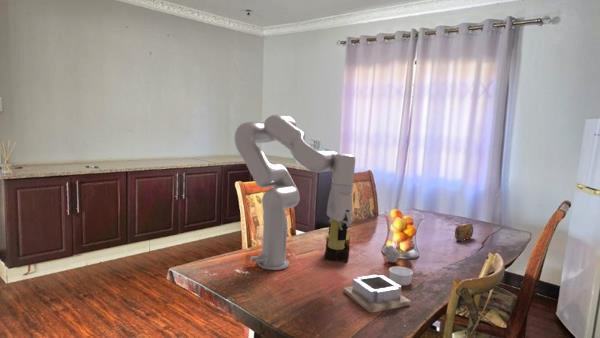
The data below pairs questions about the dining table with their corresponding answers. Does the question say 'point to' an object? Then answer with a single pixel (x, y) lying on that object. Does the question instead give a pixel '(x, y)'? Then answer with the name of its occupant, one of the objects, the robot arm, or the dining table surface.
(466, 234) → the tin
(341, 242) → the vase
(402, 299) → the stand board
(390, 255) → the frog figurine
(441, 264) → the dining table surface
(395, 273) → the ramekin
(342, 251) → the dark olive cube holder
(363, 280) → the collar
